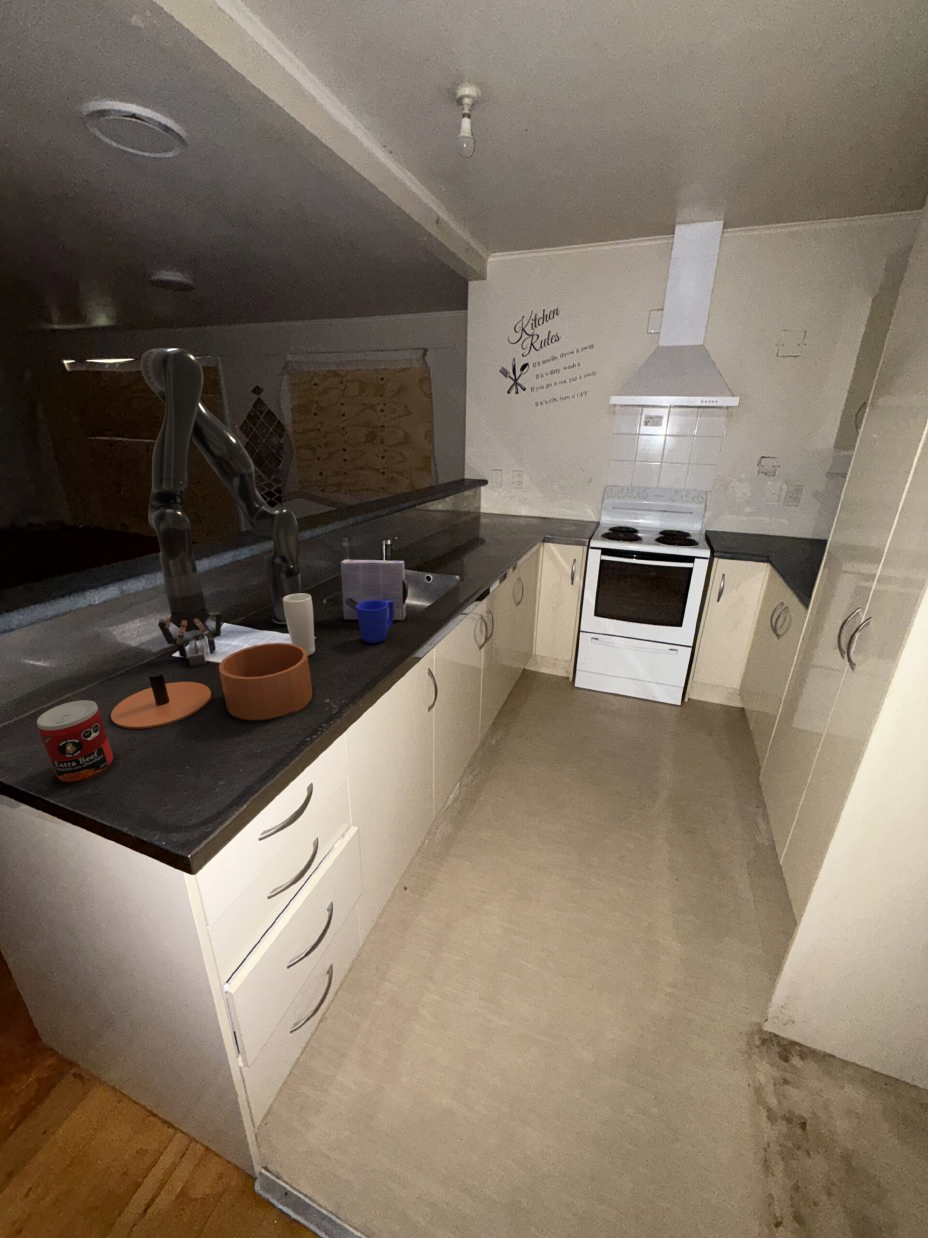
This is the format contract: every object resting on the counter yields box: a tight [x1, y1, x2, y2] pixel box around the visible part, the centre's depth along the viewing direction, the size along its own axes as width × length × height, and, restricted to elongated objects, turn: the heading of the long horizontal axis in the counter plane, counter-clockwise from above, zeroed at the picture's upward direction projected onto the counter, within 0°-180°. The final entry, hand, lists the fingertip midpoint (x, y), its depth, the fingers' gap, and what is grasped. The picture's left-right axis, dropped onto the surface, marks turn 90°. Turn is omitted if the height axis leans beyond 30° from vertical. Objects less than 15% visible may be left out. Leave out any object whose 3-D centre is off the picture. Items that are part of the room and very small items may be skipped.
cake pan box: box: [340, 559, 409, 621], centre depth 143 cm, size 19×5×18 cm, turn 89°
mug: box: [356, 600, 394, 644], centre depth 131 cm, size 8×12×10 cm
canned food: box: [36, 699, 114, 783], centre depth 79 cm, size 8×8×11 cm
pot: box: [218, 642, 313, 721], centre depth 100 cm, size 17×17×10 cm
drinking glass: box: [283, 592, 316, 657], centre depth 120 cm, size 7×7×15 cm
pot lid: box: [110, 671, 212, 730], centre depth 98 cm, size 18×18×8 cm
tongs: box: [187, 634, 208, 667], centre depth 121 cm, size 13×4×3 cm, turn 26°
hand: (198, 654), depth 122 cm, fingers open, 5 cm apart
